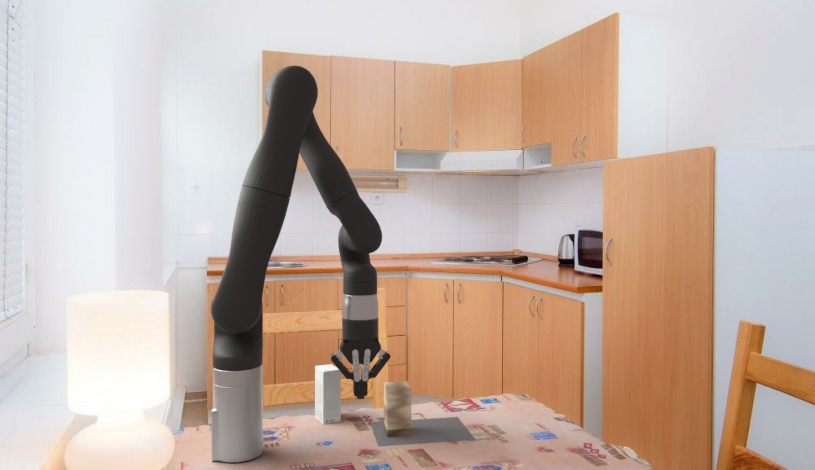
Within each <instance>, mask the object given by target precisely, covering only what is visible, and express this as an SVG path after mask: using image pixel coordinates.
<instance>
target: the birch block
mask: <svg viewBox="0 0 815 470" xmlns="http://www.w3.org/2000/svg"><path fill="white" fill-rule="evenodd" d="M411 420H412V386H411V385H410V383H409V381H388V382H387V381H385V382H383V421H384V430H385V432H386V435H387V437H397V436H411Z"/></svg>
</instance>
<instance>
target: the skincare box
mask: <svg viewBox="0 0 815 470" xmlns="http://www.w3.org/2000/svg"><path fill="white" fill-rule="evenodd" d="M314 372H315V373H314V417H315V418H316V419H317V420H318V421H319V422H320V423H321V424H322V425H328V424H333V423H335V424H336V423H340V422H342V421H341V420H342V419H341V418H342V415H341V413H342V411H341V410H342V407H341V406H342V404H341V403H342V402H341V401H342V398H341V396H342V392H341V391H342V389H341V388H342V385H341V383H342V382H341V381H342V380H341V379H342V378H341V377H342V375H341V374H342V373H341V372H340V370H339V369H338V368H337V367H336V365H335V364H333V363H330V364H322V365H320V364H319V365H315V366H314ZM315 415H316V416H315Z"/></svg>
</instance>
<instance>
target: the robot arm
mask: <svg viewBox="0 0 815 470" xmlns="http://www.w3.org/2000/svg"><path fill="white" fill-rule="evenodd" d="M318 89H319V88H318V84H317V81H316V78H315V76H314V75H313V74H312V73H311V71H309V69H307V68H305V67H303V66H302V65H301V66H299V65H289V66H285V67H282V68H280V69H279V70H277V71H276V72H275V73H273V74H272V75H271V76H270V77H269V78H268V79H267V80H266V83H265V85H264V88H263V98H264V103H265V104H266V106H267V108H268V109H267V113H266V119H265V124H264V128H263V131H262V132H263V133H262V135H261V138H260V141H259V143H258V145H257V147H256V149H255V152H254V154H253V156H252V158H251V160H250V162H249V164H248V168H247V170H246V172H245V175H244V178H243V181H242V184H241V185H242V186H241V189H240V192H239V196H238V200H237V204H236V210H235V214H234V219H233V224H232V229H231V231H232V232H231V240H230V247H229V253H228V256H227V260H226V263H225V264H226V265H225V267H224V270H223V273H222V275H221V280H220V281H219V284H218V286H217V289H216V292H215V293H214V295H213V298H212V301H211V302H210V303H211V305H210V314H211V318H212V320H213V349H212V408H211V413H210V414H211V419H210V420H211V425H210V426H211V461H214V462H215V461H218V462H224V463H242V462H247V461H251V460H253V459H256V458H258V457H259V456H261V455H262V454H263V451H264V432H263V431H264V423H263V420H264V416H263V414H264V413H263V412H264V409H263V405H264V403H263V397H264V395H263V390H264V389H263V386H264V385H263V382H264V381H263V377H264V376H263V375H264V374H263V356H264V355H263V354H264V351H263V348H264V344H263V343H264V339H263V338H264V336H263V335H264V334H263V332H264V331H263V330H264V327H263V325H264V323H263V321H264V316H263V315H264V314H263V312H264V308H263V306H264V305H263V293H264V288H265V281H266V275H267V271H268V267H269V263H270V260H271V256H272V254H273V252H274V250H275V247H276V244H277V242H278V239H279V237H280V234H281V230H282V228H283V225H284V222H285V219H286V216H287V212H288V208H289V204H290V200H291V196H292V191H293V186H294V182H295V178H296V173H297V168H298V164H299V163H298V162H299V156H300V158H301V159H302V161H303V163H304V165H305V167H306V169H307V170H308V172H309V175H310V176H311V179H312V180H313V182H314V185H315V187H316V188H317V192H318V193H319V195H320V196H321V199H322V201H323V202H324V204H325V207H326V208H327V210H328V211H329V213H330V214H331V215H333V216H334V217H336V218H337V219H338V220H339V222H340V223H341V226H340V228H339V232H338V235H337V236H338V237H337V239H338V240H337V242H338V243H337V245H338V246H337V247H338V252H339V258H340V263H341V266H342V267H341V268H342V273H343V276H342V277H343V279H342V288H343V290H342V291H343V292H342V293H343V294H342V303H341V342H340V345H339V349H338V350H337V351H335V352H334V353H331V354H330V355H329V357H330V361H331V362H332V364H333V365H334V366H335V367H337V368H338V369H339V370H340V372H341V374H342V375H343V376H344V377H345V378H346V380H351V381H352V384H353V387H352V389H353V390H352V391H353V395H354V397H356V399H357V400H365V397H367V396H368V393H369V392H368V390H369V389H368V384H369V383H368V381H369V380H370V379H375V378H376V377H377V376H378V375H379V373H380V372H381V371H382V370H383V368H384V367H385V366H386V364H388V362H389V361H390V359H391V357H392V356H391V354H390V352H389V351H386V350H384V348H382V344H381V342H380V339H379V299H378V298H379V297H378V273H377V268H376V267H375V266H373V264H372V262H371V257H370V254H372V253H374V252H376V251H377V250H378V249H380V247H381V245H382V242H383V232H382V228H381V225H380V223H379V221H378V220H377V218H376V217H375V215H374V214H373V212H372V211H371V210H370V208H369V207H368V205H367V204H366V202H364V200H363V199H362V198H361V197H360V193H359V192H358V190H357V187H356V185H355V183H354V181H353V180H352V176H351V174H350V173H349V171H348V169H347V168H346V166H345V164H344V162H343V161H342V160H341V158H340V157H339V155H338V153H337V152H336V151H335V150H334V148H333V147H332V146H331V144H330V142H329V141H328V140H327V138H326V136H325V135H324V133H323V131H322V130H321V127H320V126H319V124H318V122H317V118H316V117H315V114H314V109H315V107H316V104H317V102H318V96H319V95H318V93H319V90H318ZM342 355H343V356H344V357H345V359H346V360H347V361H348V362H349V364H351V368H352V369H351V370H352V371H350V370H349V369H348V368H347V367H346V365H345V364H344V363H343V356H342ZM376 357H377V358H378V359H377V360H376V361H375V363H374V364H373V366H372V367H371V368H370V364H371V363H372V362H373V361H374V359H376ZM360 365H361V368H360ZM360 369H361V372H360ZM360 373H361V374H360Z"/></svg>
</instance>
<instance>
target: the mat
mask: <svg viewBox="0 0 815 470" xmlns="http://www.w3.org/2000/svg"><path fill="white" fill-rule="evenodd" d="M369 424H370V427H371V430H372V433H373V435H374V438H375V441H376V444H377V446H378V447H389V446H402V445H418V444H419V445H420V444H434V443H449V442H461V441H463V442H464V441H476V438H475V437H474V436H473V434H471V431H469V429H468V428H467V427H466V426H465V425H464V423H463V422H462V420H461V419H460V418H459V417H458V416H453V417H452V416H451V417H436V418H435V417H433V418H421V419H420V418H415V419H411V436H397V437H387V435H386V432H385V430H384V420H383V421H370V422H369Z"/></svg>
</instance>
